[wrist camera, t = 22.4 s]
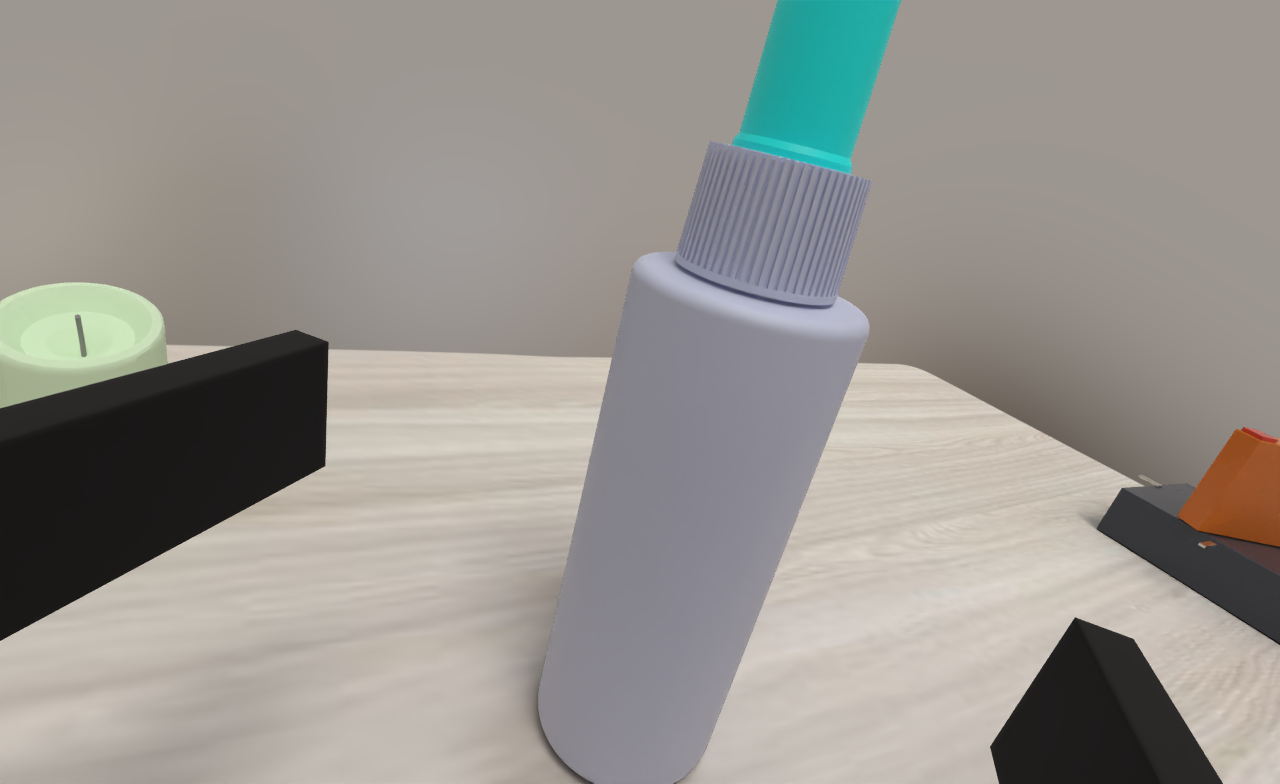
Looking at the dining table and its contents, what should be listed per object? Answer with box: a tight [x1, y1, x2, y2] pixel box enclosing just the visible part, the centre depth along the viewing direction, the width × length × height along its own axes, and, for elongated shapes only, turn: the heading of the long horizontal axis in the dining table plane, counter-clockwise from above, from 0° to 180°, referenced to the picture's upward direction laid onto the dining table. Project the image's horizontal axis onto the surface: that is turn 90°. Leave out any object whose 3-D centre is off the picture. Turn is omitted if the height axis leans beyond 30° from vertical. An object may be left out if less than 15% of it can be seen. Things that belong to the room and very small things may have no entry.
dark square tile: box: [1097, 475, 1280, 643], centre depth 40 cm, size 14×14×4 cm
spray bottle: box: [538, 0, 901, 784], centre depth 17 cm, size 6×6×22 cm
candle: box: [0, 283, 168, 408], centre depth 24 cm, size 5×5×8 cm
